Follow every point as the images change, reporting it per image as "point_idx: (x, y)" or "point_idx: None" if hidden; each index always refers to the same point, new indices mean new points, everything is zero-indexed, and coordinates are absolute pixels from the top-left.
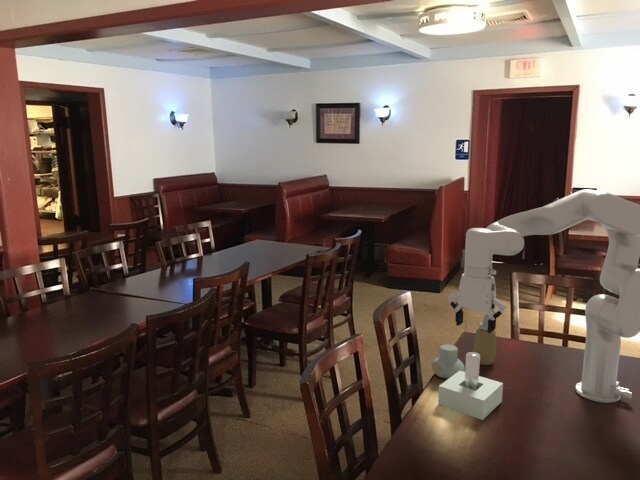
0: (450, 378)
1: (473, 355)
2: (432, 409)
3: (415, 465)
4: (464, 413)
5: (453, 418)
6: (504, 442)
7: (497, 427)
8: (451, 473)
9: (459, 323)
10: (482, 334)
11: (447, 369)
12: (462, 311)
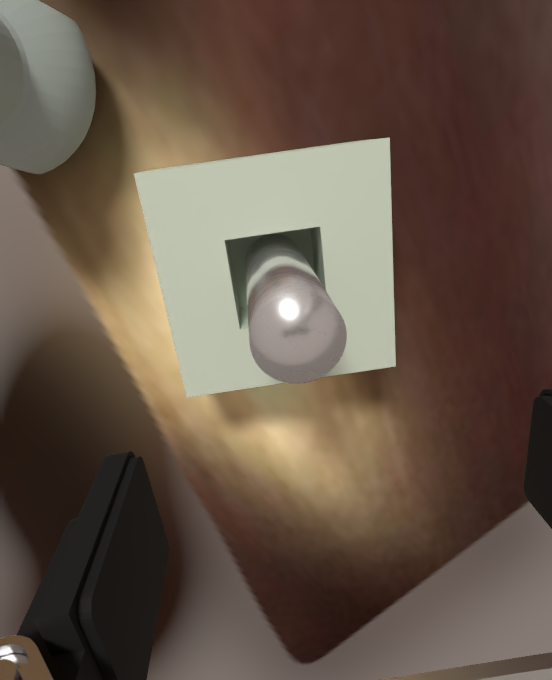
0: (169, 298)
1: (307, 347)
2: (205, 399)
3: (348, 607)
4: None
5: (292, 394)
6: (479, 393)
7: (430, 336)
8: (425, 577)
9: (161, 548)
10: None
11: (45, 156)
12: (94, 635)
